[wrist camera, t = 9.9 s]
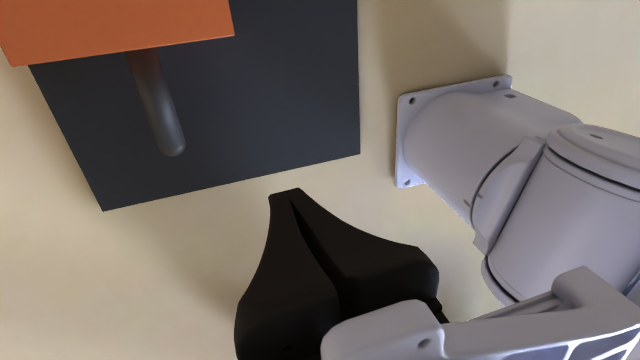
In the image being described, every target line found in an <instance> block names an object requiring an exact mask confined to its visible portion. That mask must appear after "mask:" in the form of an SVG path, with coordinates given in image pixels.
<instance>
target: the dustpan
mask: <svg viewBox="0 0 640 360" xmlns="http://www.w3.org/2000/svg"><path fill="white" fill-rule="evenodd" d="M234 35H235V33H234V28H233V23H232V18H231V13H230V8H229V3H228V0H0V46H1V48H2V50H3V52H4V54H5V56H6V58H7V59H8V61H9V63H10V65H11V66H12V67H17V66H24V65H31V64H38V63H45V62H52V61H59V60H66V59H73V58H80V57H88V56H95V55H102V54H109V53H116V52H124V55H125V58H126V60H127V63H128V66H129V69H130V71H131V74H132V77H133V80H134V82H135V85H136V88H137V91H138V93H139V96H140V99H141V102H142V104H143V107H144V110H145V113H146V115H147V118H148V121H149V124H150V126H151V129H152V132H153V135H154V138H155V140H156V143H157V146H158V148H159V150H160V151H161V152H162V153H163V154H165V155H167V156H177V155H179V154H181V153H182V152H183V151H184V149H185V146H186V142H185V138H184V135H183V131H182V128H181V125H180V122H179V119H178V116H177V112H176V109H175V106H174V103H173V100H172V96H171V93H170V90H169V87H168V84H167V80H166V77H165V74H164V71H163V68H162V64H161V61H160V58H159V55H158V52H157V49H156V47H158V46H165V45H172V44H179V43H186V42H193V41H201V40H208V39H215V38H222V37H229V36H234Z"/></svg>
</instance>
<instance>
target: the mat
mask: <svg viewBox="0 0 640 360" xmlns="http://www.w3.org/2000/svg"><path fill="white" fill-rule="evenodd" d="M228 3H229V8H230V13H231V18H232V23H233V28H234V33H235V35H234V36H229V37H222V38H215V39H208V40H201V41H193V42H186V43H179V44H172V45H165V46H158V47H156V49H157V52H158V55H159V58H160V61H161V64H162V68H163V71H164V74H165V77H166V80H167V84H168V87H169V90H170V93H171V96H172V100H173V103H174V106H175V109H176V112H177V116H178V119H179V122H180V125H181V128H182V131H183V135H184V138H185V142H186V146H185V149H184V151H183V152H182V153H181V154H179V155H177V156H167V155H165V154H163V153H162V152H161V151H160V150H159V148H158V146H157V143H156V140H155V138H154V135H153V132H152V129H151V126H150V124H149V121H148V118H147V115H146V113H145V110H144V107H143V104H142V102H141V99H140V96H139V93H138V91H137V88H136V85H135V82H134V80H133V77H132V74H131V71H130V69H129V66H128V63H127V60H126V58H125V55H124V52H116V53H109V54H102V55H95V56H88V57H80V58H73V59H66V60H59V61H52V62H45V63H38V64H31V65H28V67H29V68H30V70H31V72H32V74H33V76H34V78H35V80H36V82H37V84H38V86H39V88H40V90H41V92H42V94H43V96H44V98H45V100H46V102H47V104H48V106H49V108H50V110H51V111H52V113H53V115H54V117H55V119H56V121H57V123H58V125H59V127H60V129H61V131H62V133H63V135H64V137H65V139H66V141H67V143H68V145H69V147H70V149H71V151H72V152H73V154H74V156H75V158H76V160H77V162H78V164H79V166H80V168H81V170H82V172H83V174H84V176H85V178H86V180H87V182H88V184H89V186H90V188H91V190H92V192H93V193H94V195H95V197H96V199H97V201H98V203H99V205H100V207H101V209H102V211H103V212H104V211H108V210H113V209H117V208H122V207H126V206H130V205H135V204H139V203H144V202H148V201H153V200H157V199H162V198H166V197H171V196H175V195H180V194H184V193H188V192H193V191H197V190H202V189H206V188H211V187H215V186H220V185H224V184H229V183H233V182H238V181H242V180H246V179H251V178H255V177H260V176H264V175H269V174H273V173H278V172H282V171H287V170H291V169H295V168H300V167H304V166H309V165H313V164H318V163H322V162H327V161H331V160H336V159H340V158H345V157H349V156H353V155H358V154H360V120H359V75H358V29H357V0H228Z"/></svg>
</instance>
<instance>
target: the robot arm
mask: <svg viewBox="0 0 640 360" xmlns="http://www.w3.org/2000/svg"><path fill="white" fill-rule="evenodd" d="M494 82H495V84H494ZM493 84H494V86H493ZM511 85H512V77H511V76H510V75H500V76H495V77H490V78H485V79H480V80H474V81H469V82H464V83H459V84H454V85H448V86H443V87H438V88H433V89H428V90H423V91H417V92H412V93H407V94H403V95H401V96H400V97H399V99H398V105H397V131H396V157H395V186H396V187H397V188H399V189H401V188H405V187H409V186H413V185H417V184H421V183H426V184H427V185H428V186H429V187H430V188H431V189H432V190H433V191H434V192H435V193H436V194H437V195H438V196H439V197H440V198H441V199H443V200H444V201H445V202H446V203H447V204H448V205H449V206H450V207H451V208H452V209H453V210H454V211H455V212H456V213H457V214H458V215H459V216H460V217H461V218H462V219H463V220H464V221H465V222H466V223H468V224H469V225H470V226H471V227H472V228H473V229H474V230H475V238H474V241H473V244H474V245H475V246H476V247H477V248H478V249H479V250H480V251H481V252H482V253H483V254H484V255H485V257H484V259H483V261H482V265H481V273H482V276H483V279H484V281H485V283H486V285H487V286H488V288H489V289H490V291H491V292H492V293H493V294H494V295H495V297H496V298H497V299H498V300H499V301H500V302H501V304H502V305H504V306H505V307H504V308H501V309H499V310H496V311H493V312H491V313H488V314H485V315H482V316H480V317H477V318H474V319H472V320H469V321H464V322H455V323H450V322H449V321H448V319H447V318H446V316H445V315H444V314H443V312H442V311H441V310H442V308H443V307H442V305H441V303H440V302H439V301H438V299H437V298H436V296H437V289H438V283H439V272H438V270H437V267H436V266H435V265H434V264H433V262H432V261H431V260H430V259H429V258H428V256H427V255H426V254H425V253H424V252H422V251H421V250H420V249H419V247H416V246H411V245H406V244H401V243H397V242H393V241H390V240H386V239H383V238H380V237H377V236H374V235H372V234H369V233H366V232H364V231H362V230H359V229H357V228H355V227H353V226H351V225H349V224H347V223H346V222H344V221H342V220H340V219H339V218H337V217H336V216H334V215H333V214H331V213H330V212H328V211H327V210H326V209H324V208H323V207H322V206H320V205H319V204H318V203H316V202H315V201H314V200H313V199H312V198H310V197H309V196H308V195H307V194H306V193H305V192H304V191H302V190H301V189H300V188H295V189H291V190H287V191H283V192H279V193H274V194H270V196H269V197H268V199H269V205H270V223H269V230H268V236H267V241H266V245H265V248H264V252H263V255H262V258H261V260H260V263H259V266H258V268H257V271H256V273H255V275H254V277H253V279H252V281H251V283H250V285H249V287H248V288H247V290H246V292H245V293H244V295H243V296H242V298H241V299H240V301H239V303H238V307H237V312H236V318H235V326H234V343H235V349H236V355H237V359H238V360H640V273H639V274H638V276H637V277H636V279H635V280H634V281H633V282H632V283H630V282H631V280H632V279H633V278H634V277H635V275H636V274H637V273H638V272H639V270H640V138H638V137H635V136H632V135H629V134H626V133H622V132H619V131H615V130H611V129H607V128H603V127H599V126H594V125H589V124H584V123H583V122H581V121H580V120H579V119H578V118H577V117H576V116H574V115H572V114H571V113H569V112H566V111H564V110H561V109H559V108H556V107H554V106H552V105H549V104H547V103H544V102H542V101H539V100H537V99H534V98H532V97H530V96H527V95H525V94H522V93H520V92H517V91H515V90H513V89H511ZM411 98H413V101H412V102H410V103H409V101H410V99H411ZM406 180H408V181H407V182H405V181H406ZM629 283H630V284H629ZM628 284H629V285H628Z"/></svg>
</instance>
